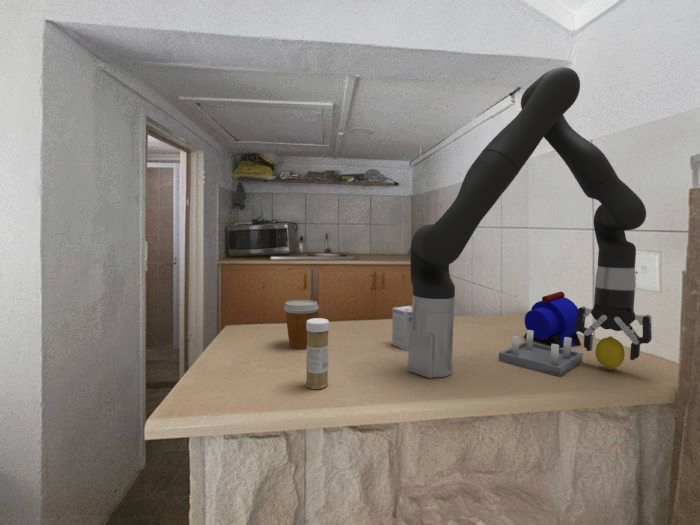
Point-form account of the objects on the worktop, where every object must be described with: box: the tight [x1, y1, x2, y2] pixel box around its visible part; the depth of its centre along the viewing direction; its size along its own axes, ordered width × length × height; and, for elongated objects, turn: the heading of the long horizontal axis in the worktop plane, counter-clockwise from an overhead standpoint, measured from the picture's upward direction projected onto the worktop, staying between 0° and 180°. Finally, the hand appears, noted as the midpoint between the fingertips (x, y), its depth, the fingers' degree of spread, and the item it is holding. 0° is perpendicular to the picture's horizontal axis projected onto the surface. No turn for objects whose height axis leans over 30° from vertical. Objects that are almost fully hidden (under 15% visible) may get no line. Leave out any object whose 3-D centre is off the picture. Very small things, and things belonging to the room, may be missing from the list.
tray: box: [498, 329, 583, 378], centre depth 91 cm, size 16×14×6 cm
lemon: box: [595, 336, 625, 371], centre depth 86 cm, size 6×6×8 cm
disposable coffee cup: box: [283, 299, 320, 350], centre depth 100 cm, size 10×10×12 cm
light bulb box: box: [391, 305, 412, 351], centre depth 103 cm, size 11×7×11 cm, turn 123°
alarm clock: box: [523, 291, 582, 349], centre depth 109 cm, size 12×12×15 cm
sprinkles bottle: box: [305, 317, 330, 390], centre depth 73 cm, size 5×5×13 cm
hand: (610, 354), depth 86 cm, fingers open, 8 cm apart
